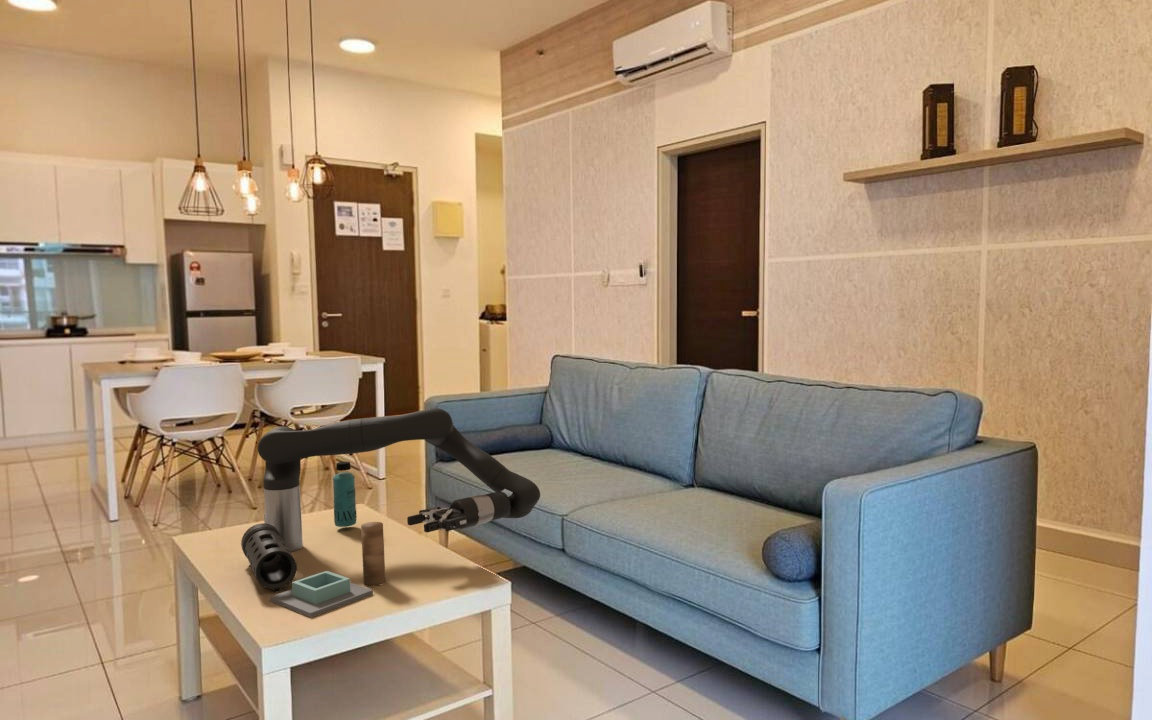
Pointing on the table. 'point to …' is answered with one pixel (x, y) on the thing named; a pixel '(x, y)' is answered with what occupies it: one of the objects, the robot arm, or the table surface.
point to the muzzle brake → (268, 556)
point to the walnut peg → (373, 553)
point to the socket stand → (320, 594)
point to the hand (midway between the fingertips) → (416, 524)
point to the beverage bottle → (344, 496)
